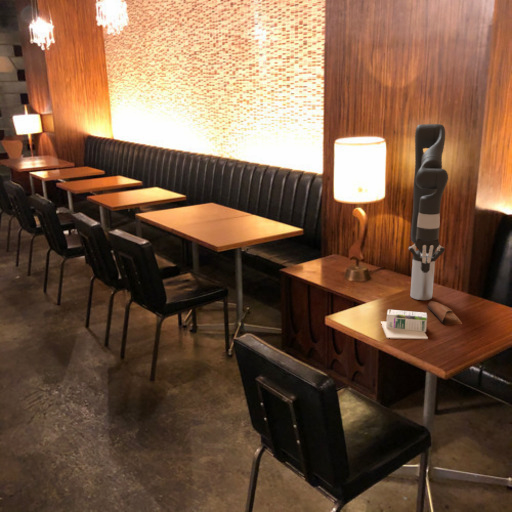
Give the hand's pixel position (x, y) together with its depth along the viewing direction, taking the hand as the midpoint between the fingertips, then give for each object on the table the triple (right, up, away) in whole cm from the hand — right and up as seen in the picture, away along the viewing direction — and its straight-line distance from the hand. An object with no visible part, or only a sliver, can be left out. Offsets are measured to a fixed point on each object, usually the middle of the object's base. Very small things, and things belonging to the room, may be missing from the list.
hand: (424, 272), depth 196 cm
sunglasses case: (+14, -19, +20) cm, 31 cm away
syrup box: (+3, -19, +5) cm, 20 cm away
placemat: (-6, -22, +7) cm, 24 cm away
